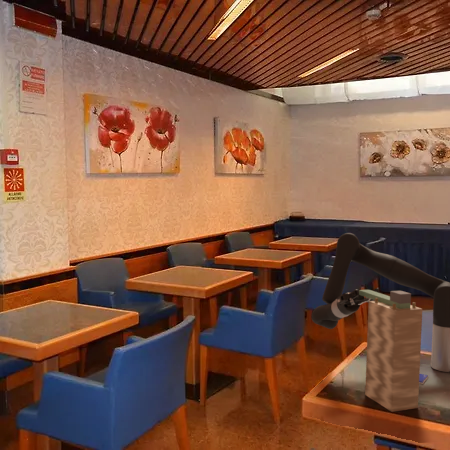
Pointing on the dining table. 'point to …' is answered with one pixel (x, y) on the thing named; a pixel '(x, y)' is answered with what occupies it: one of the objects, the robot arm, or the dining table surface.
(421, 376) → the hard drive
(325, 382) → the dining table surface
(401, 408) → the stand
